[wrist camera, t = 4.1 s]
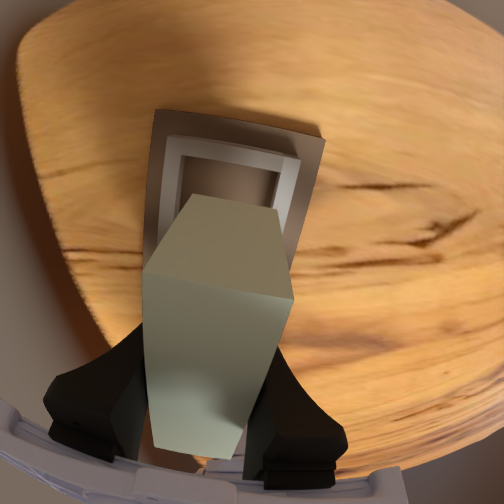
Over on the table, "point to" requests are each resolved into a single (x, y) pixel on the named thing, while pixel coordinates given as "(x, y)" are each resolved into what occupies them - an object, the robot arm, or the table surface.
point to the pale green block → (212, 322)
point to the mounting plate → (227, 170)
